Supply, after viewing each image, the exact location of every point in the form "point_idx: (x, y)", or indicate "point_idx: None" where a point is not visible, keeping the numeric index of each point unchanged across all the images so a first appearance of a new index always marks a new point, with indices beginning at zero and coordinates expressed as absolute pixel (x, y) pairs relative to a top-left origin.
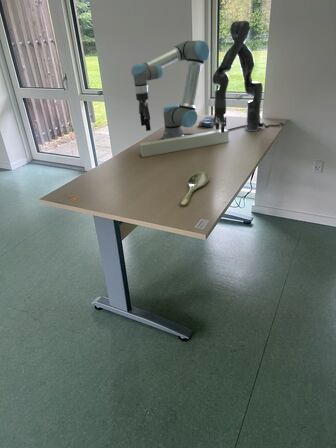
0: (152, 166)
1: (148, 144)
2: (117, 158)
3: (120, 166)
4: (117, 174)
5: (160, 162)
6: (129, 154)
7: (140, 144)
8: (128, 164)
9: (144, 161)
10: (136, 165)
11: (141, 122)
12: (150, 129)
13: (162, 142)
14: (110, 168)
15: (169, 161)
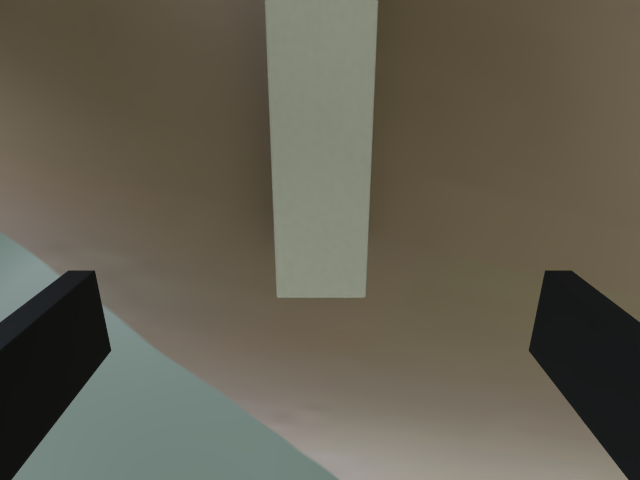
0: (623, 223)
1: (368, 213)
2: (280, 416)
3: (459, 422)
4: (587, 456)
5: (584, 134)
6: (230, 328)
7: (317, 294)
8: (454, 372)
9: (468, 255)
10: (513, 327)
11: (70, 392)
12: (582, 281)
13: (376, 10)
14: (454, 476)
15: (621, 42)
